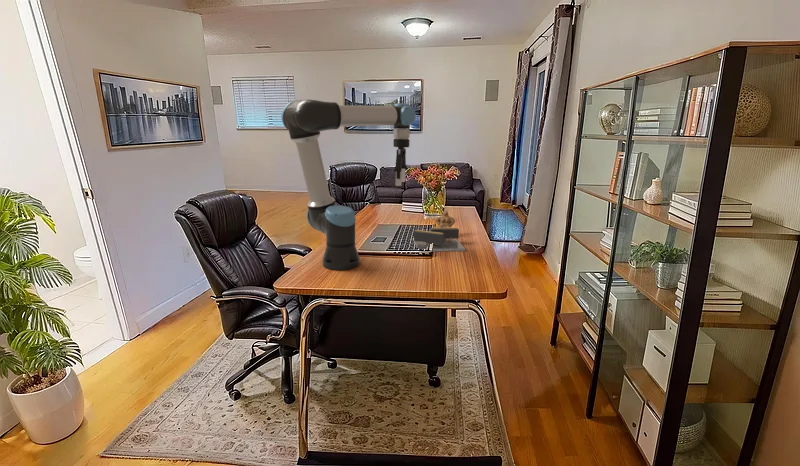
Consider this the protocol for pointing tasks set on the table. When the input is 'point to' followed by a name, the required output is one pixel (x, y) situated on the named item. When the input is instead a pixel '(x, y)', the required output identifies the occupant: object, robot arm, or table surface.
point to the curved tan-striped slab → (447, 232)
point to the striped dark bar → (429, 237)
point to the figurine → (444, 221)
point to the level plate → (442, 245)
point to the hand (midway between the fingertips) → (400, 183)
